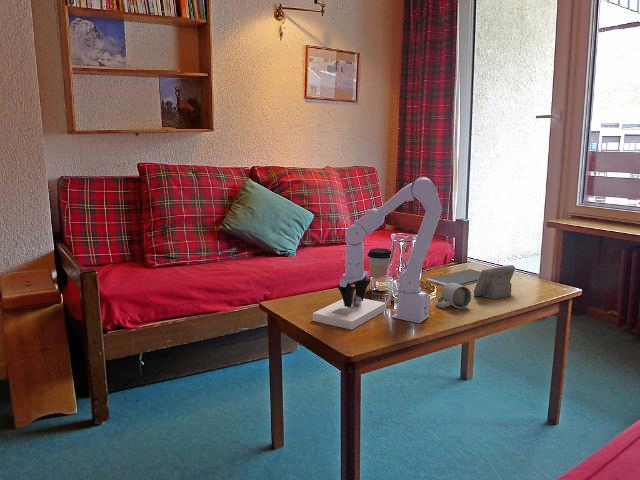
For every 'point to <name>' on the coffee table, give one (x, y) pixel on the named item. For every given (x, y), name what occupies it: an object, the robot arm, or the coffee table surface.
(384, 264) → the coffee cup
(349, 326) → the hole plate
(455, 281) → the grey flat slab
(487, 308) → the coffee table surface
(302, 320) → the coffee table surface
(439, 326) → the coffee table surface
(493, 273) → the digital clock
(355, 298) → the steel ball
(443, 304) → the ceramic mug
